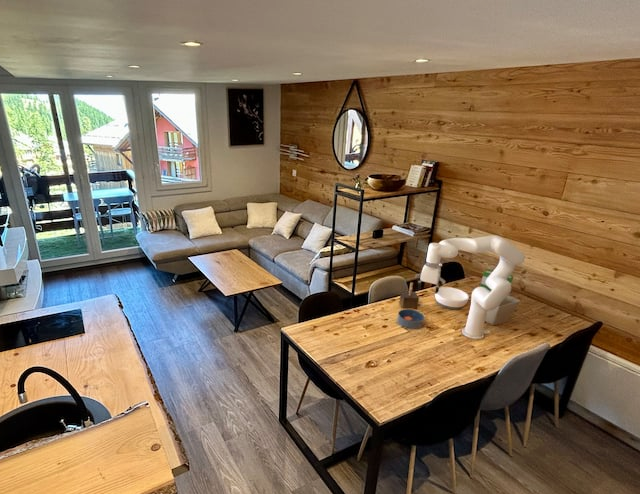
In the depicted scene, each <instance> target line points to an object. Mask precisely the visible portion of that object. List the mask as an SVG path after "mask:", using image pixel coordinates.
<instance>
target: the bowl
mask: <svg viewBox="0 0 640 494" xmlns="http://www.w3.org/2000/svg"><path fill="white" fill-rule="evenodd" d="M434 298H435V300H436V304H437V305H439V306H440V307H442V308H443V309H446V310H452V311H453V310H454V311H457V310H461V309H463V308H464V306H466V305H467V303H468V302H469V299H470V295H469V294H468V293H467V292H465V291H464V290H461V289H460V288H455V287H450V286H441V287H439V291H438V292H437V293H436V294H435V293H434Z"/></svg>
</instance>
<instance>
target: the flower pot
mask: <svg viewBox="0 0 640 494" xmlns="http://www.w3.org/2000/svg"><path fill="white" fill-rule="evenodd" d="M489 291H490V292H491V291H492V290H489ZM520 301H521V300H520V299H518V298H515V297H513V296H511V295H510V294H508V296H507V297H506V298H505V299H504V300H503V301H502V302H501V303H500V305H499V306H498V307H497V308H495V309H494V310H491V311H487V315H486V319H485V322H486V323H487V324H489V325H491V326H497V325H501V324H504V323H506V322H508V321H509V319H510V318H511V316H512V315H513V314H514V312H515V311H516V309H517V308H518V306H519V304H520Z"/></svg>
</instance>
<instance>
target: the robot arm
mask: <svg viewBox="0 0 640 494" xmlns="http://www.w3.org/2000/svg"><path fill="white" fill-rule="evenodd" d="M427 247H428V248H427V254H426V260H425V264H424V265H423V267H422V270H421V272H419V273H416V274H414V277H415V280H416V282H417V290H421V288H422V282H424V283H428V284H432V285H435V290H434V295H435V294H436V293H437V292H438V291H439V288H440V287H444V285H445V284H446V280H445V279H444V278H442V277H441V271H442V269H441V268H442V267H443V263H441V260H442V258H445V259H454V258H456V257H457V256H458V254H459V251H464V252H467V253H470V254H478V253H486V252H494V253H495V254H497V255H498V256H499V262H498V264H497V266H496V267H495V268H494V269H493V270H492V271H493V272H492V273H491V274H490V275H489V276H488V278H487V279H486V281H485V283H486V285H487V286H488V287H489V288H490V289H491V290H492V291H491V292H490V291H489V290H488V289H486V288H484V287H480V286H478V287H475V288H474V289H473V290H472V292H471V299H470V300H471V301H470V307H469V311H468V315H467V319H466V325H465V327H463V328H462V329H461V333H462V335H463V336H465V337H466V338H469V339H472V340H483V339H484V337H485V334H487V335H488V334H491V330H488V329H487V328H484V327H485V322H486V321H485V319H486V315H487V311H491V310H494V309H495V308H497V307H498V306H499V305H500V303H501V302H502V301H503V300H504V299H505V298H506V297H507V296H508V295H510V293H511V291H512V283H511V284H510V282H509V281H507V279H508V277H509V276H510V275H512V274H513V272H514V270H515V266H519V265H521V264H522V263H524V261H525V259H526V256H525V253H524V252H523V251H521V250H520V249H519V248H517V246H515V245H513V244H512V243H511V242H510V241H508V240H507V239H505V238H504V237H501V236H500V235H496V234H494V235H493V234H492V235H486V236H480V237H473V238H472V237H471V238H469V237H468V238H467V237H452V238H446V239H442V240H441V241H439V242H430V243H429V245H428V246H427ZM419 277H420V278H419ZM440 282H441V283H440Z"/></svg>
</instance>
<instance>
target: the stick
mask: <svg viewBox="0 0 640 494" xmlns="http://www.w3.org/2000/svg"><path fill="white" fill-rule="evenodd" d="M413 286H414V282H411V281H410V283H409V290H408V292H409V296H411V293H412V292H413Z"/></svg>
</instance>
